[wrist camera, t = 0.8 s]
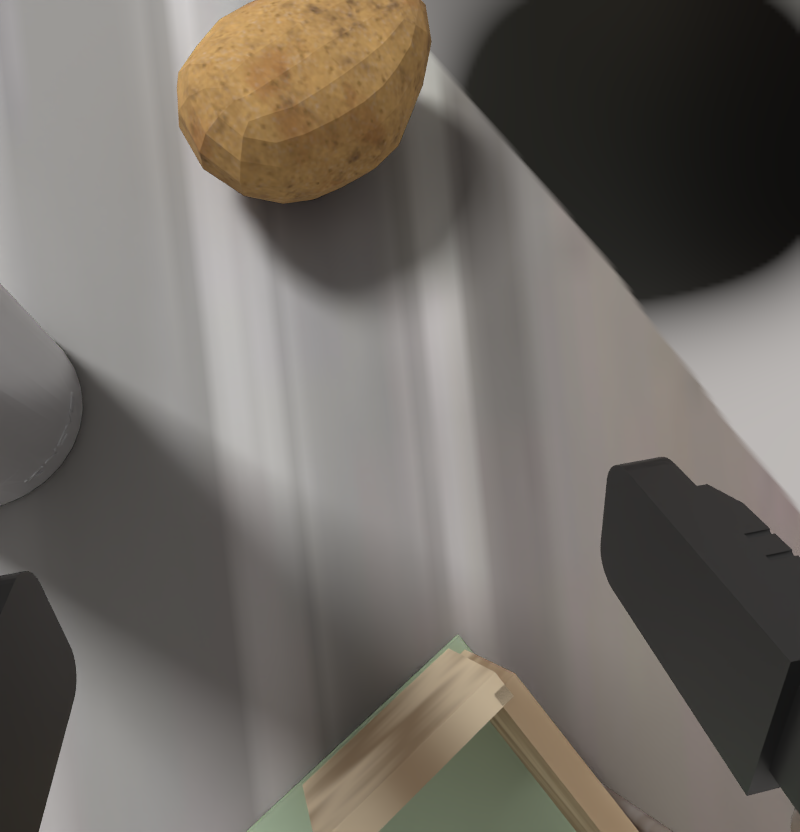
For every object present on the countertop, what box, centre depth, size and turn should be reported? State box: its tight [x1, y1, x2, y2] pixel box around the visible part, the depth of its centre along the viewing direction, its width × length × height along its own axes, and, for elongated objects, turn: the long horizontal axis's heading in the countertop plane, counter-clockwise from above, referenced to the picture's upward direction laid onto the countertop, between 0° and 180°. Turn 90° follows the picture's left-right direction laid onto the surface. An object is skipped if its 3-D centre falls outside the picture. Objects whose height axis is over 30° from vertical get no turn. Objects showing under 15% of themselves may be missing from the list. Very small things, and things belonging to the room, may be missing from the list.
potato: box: [177, 0, 431, 204], centre depth 33 cm, size 10×14×8 cm
